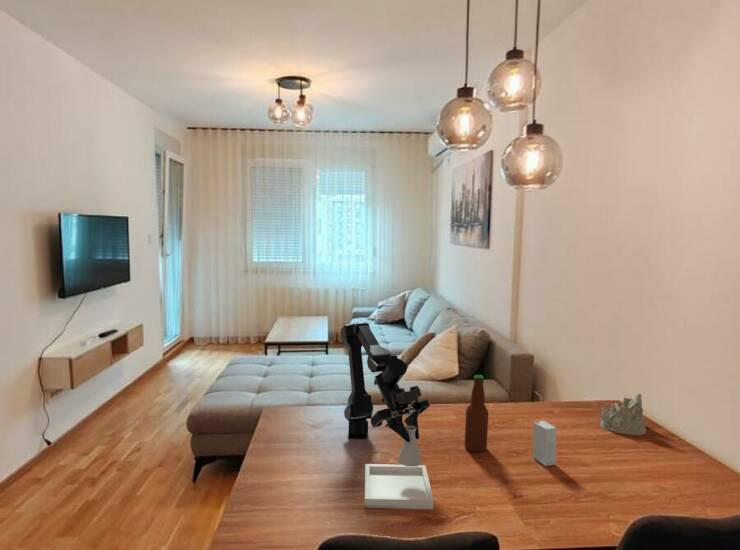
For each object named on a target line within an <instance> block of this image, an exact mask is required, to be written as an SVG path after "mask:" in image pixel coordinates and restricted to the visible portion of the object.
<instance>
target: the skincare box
mask: <svg viewBox="0 0 740 550" xmlns="http://www.w3.org/2000/svg"><path fill="white" fill-rule="evenodd" d="M557 429H558V428H557V427H556V426H554V425H552V424H550V423H549V422H547V421H545V420H541V421H535V422H533V445H532V446H533V447H532V449H533V450H532V457H533V459H534V460H536V461H537V462H539V463H540V464H542V465H543V466H545V467H549V466H555V465H556V459H557V457H556V456H557V455H556V454H557Z"/></svg>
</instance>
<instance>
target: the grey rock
mask: <svg viewBox="0 0 740 550" xmlns="http://www.w3.org/2000/svg"><path fill="white" fill-rule="evenodd" d="M642 401H643V400H642V393H636V394H635V397H633V398H627V397H626V398H625V397H623V400H622V404H621V406H619V404H618V402H615V403H613V404H611V407H607V406H603V407H602V408H601V412H600V418H601V420H600V421H599V427H600V428H602V429H604V430H607V431H611V432H613V433H614V432H615V433H617V434H623V435H629V436H631V435H632V436H642V435H645V434H646V433H647V429H646V424H645V423H646V420H645V419H644V417H643V416H644V415H643V412H644V409H643V407H642V406H643V402H642Z"/></svg>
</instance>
